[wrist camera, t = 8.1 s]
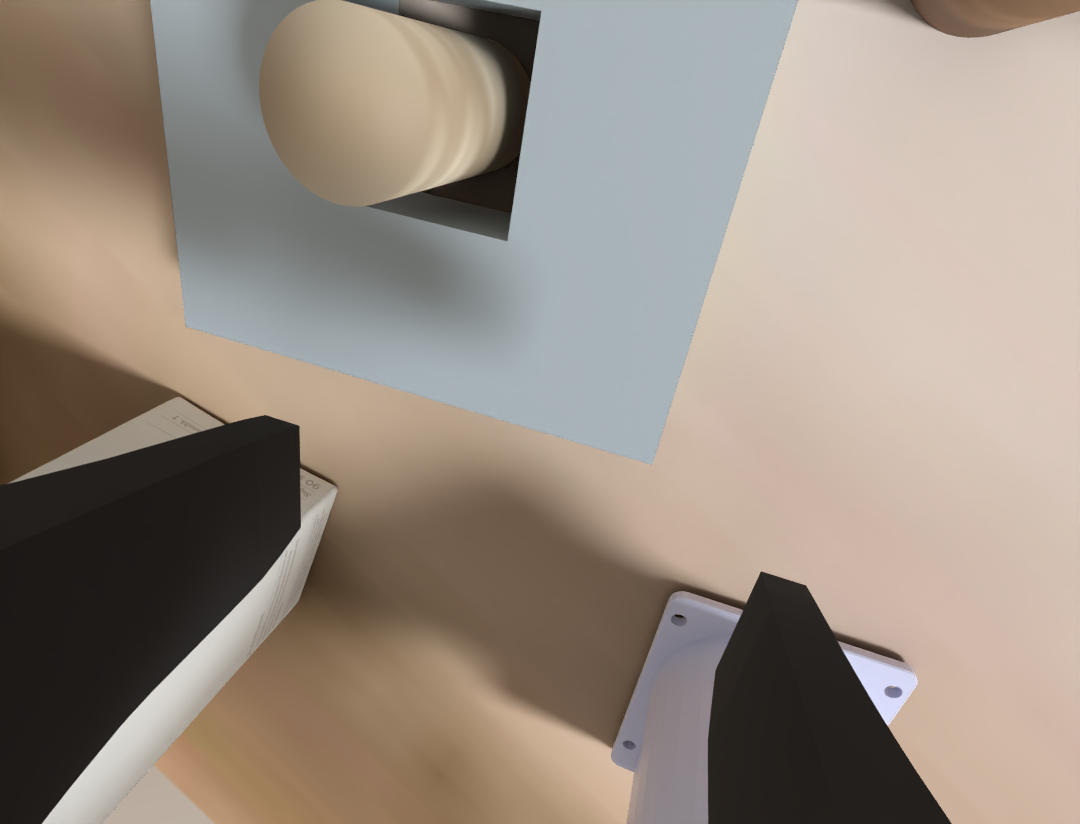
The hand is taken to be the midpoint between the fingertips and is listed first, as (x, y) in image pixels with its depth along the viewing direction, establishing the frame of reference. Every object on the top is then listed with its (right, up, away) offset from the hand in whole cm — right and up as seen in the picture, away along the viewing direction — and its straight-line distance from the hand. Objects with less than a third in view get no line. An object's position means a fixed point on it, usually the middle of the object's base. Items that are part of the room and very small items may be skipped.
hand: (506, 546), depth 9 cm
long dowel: (-1, +10, +7) cm, 12 cm away
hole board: (-1, +10, +7) cm, 12 cm away
